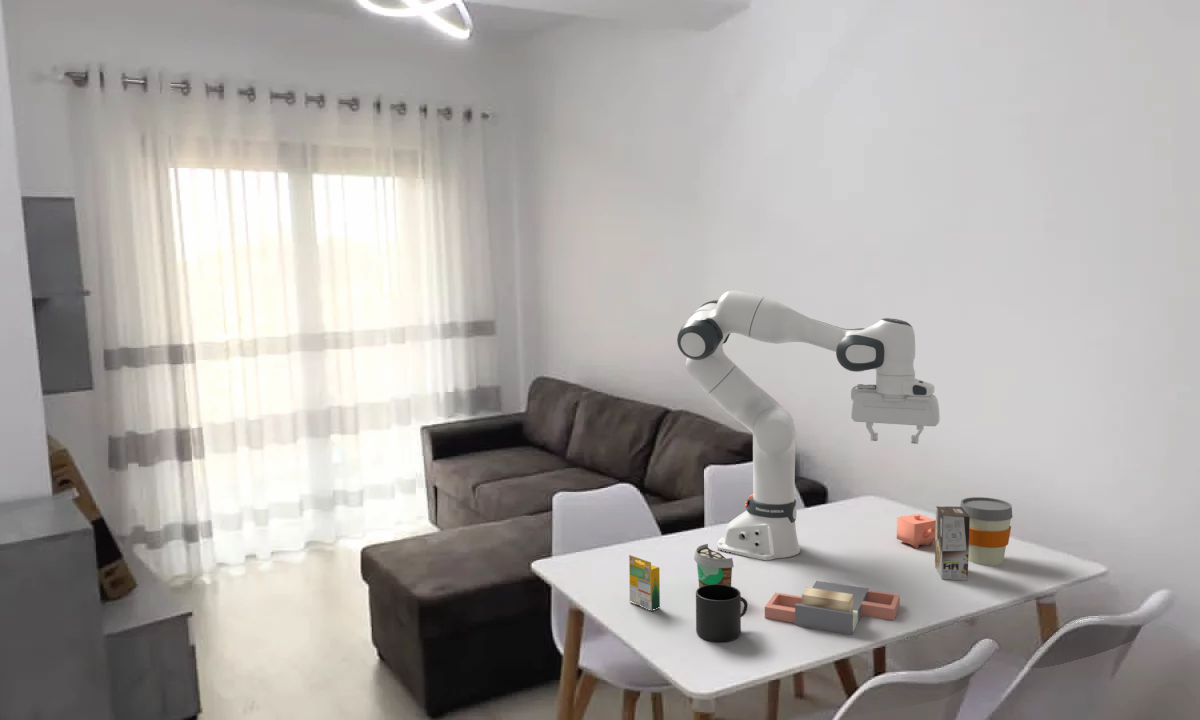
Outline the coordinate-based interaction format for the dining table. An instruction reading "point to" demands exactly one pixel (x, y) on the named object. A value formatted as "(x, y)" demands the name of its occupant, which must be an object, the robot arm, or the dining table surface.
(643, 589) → the crayon box
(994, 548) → the reusable coffee cup
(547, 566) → the dining table surface
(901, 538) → the pink cube teapot
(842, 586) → the board
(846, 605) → the beech bar
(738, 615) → the mug
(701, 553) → the food container
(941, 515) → the coffee box
